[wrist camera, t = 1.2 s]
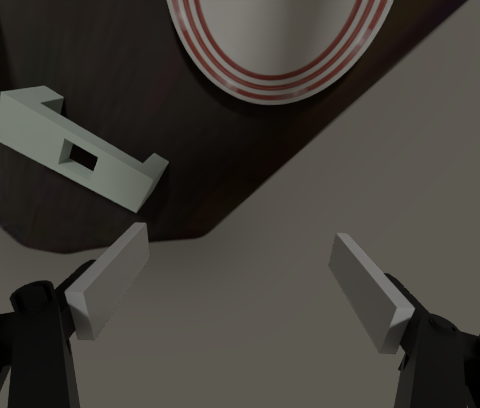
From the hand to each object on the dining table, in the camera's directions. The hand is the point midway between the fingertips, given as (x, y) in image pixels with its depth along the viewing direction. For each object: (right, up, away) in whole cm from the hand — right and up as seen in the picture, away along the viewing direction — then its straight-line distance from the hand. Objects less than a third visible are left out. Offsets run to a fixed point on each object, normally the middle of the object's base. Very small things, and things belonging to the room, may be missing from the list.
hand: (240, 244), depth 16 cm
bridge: (-25, +14, +25) cm, 38 cm away
